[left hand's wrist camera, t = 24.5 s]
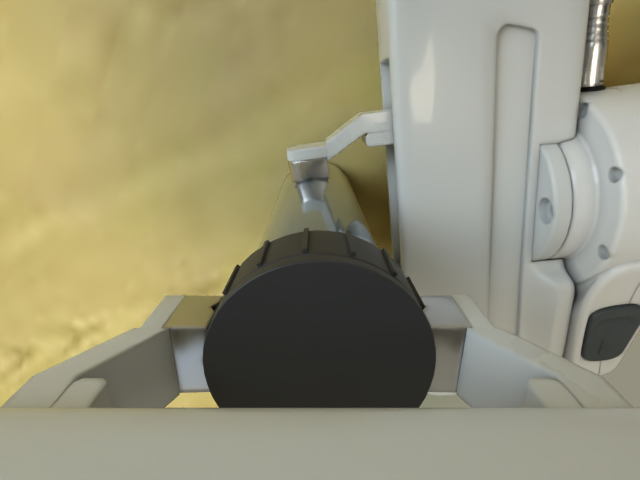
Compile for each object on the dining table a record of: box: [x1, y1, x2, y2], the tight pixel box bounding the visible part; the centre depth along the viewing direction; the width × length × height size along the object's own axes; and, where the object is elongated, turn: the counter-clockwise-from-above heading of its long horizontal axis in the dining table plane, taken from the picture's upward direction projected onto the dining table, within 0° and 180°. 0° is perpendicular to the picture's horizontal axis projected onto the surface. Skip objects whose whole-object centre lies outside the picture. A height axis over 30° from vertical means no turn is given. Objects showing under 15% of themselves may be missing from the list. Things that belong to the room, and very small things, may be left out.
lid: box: [203, 228, 436, 408], centre depth 9 cm, size 5×5×2 cm
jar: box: [258, 162, 377, 249], centre depth 16 cm, size 4×4×15 cm
